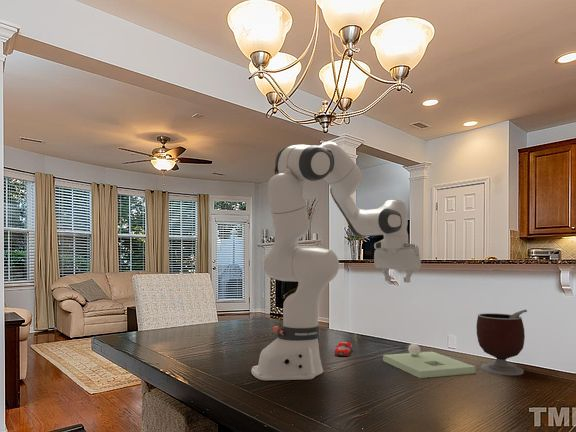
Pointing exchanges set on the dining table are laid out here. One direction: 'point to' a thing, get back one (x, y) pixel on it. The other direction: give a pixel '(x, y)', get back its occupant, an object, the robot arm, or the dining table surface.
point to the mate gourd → (501, 340)
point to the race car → (343, 349)
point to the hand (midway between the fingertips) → (397, 281)
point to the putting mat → (428, 364)
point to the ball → (414, 349)
